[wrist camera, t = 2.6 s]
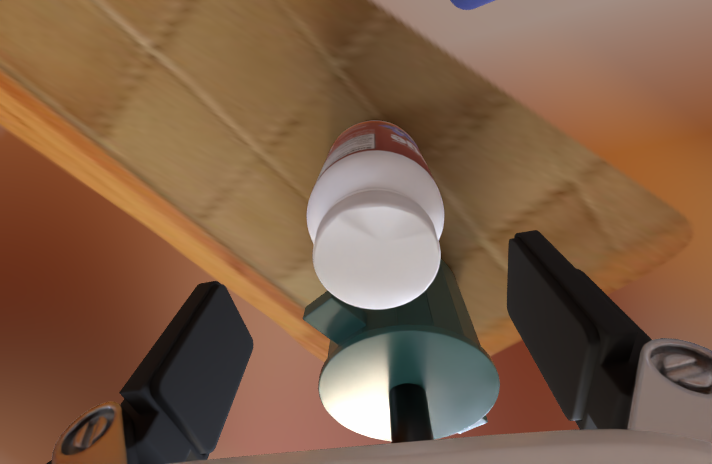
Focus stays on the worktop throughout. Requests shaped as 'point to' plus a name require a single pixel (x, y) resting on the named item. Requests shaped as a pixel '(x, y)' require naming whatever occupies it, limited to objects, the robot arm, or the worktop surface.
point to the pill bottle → (375, 218)
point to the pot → (395, 314)
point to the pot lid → (408, 383)
